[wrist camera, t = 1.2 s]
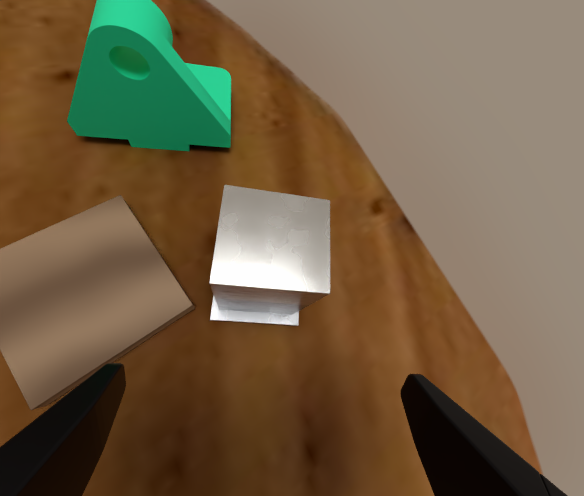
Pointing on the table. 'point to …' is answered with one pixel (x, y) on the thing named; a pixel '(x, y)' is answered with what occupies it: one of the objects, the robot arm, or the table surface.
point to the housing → (269, 256)
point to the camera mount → (146, 84)
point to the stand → (82, 299)
